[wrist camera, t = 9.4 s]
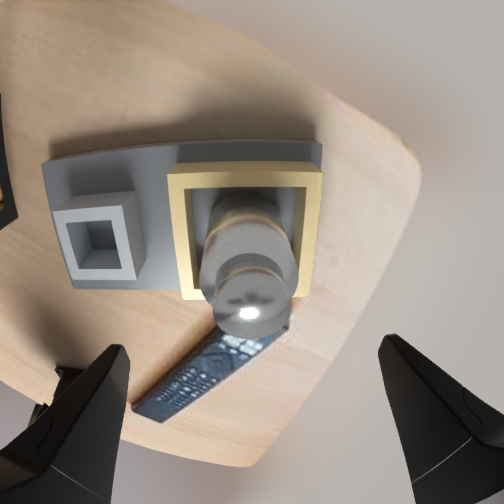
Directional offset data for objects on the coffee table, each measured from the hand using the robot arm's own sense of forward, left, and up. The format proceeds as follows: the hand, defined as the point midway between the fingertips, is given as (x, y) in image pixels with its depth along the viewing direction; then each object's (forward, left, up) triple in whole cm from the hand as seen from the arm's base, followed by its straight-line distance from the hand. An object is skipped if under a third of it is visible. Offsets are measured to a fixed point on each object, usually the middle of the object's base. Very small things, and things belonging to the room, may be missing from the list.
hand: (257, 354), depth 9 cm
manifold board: (0, +5, -12) cm, 13 cm away
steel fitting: (0, 0, -10) cm, 10 cm away
